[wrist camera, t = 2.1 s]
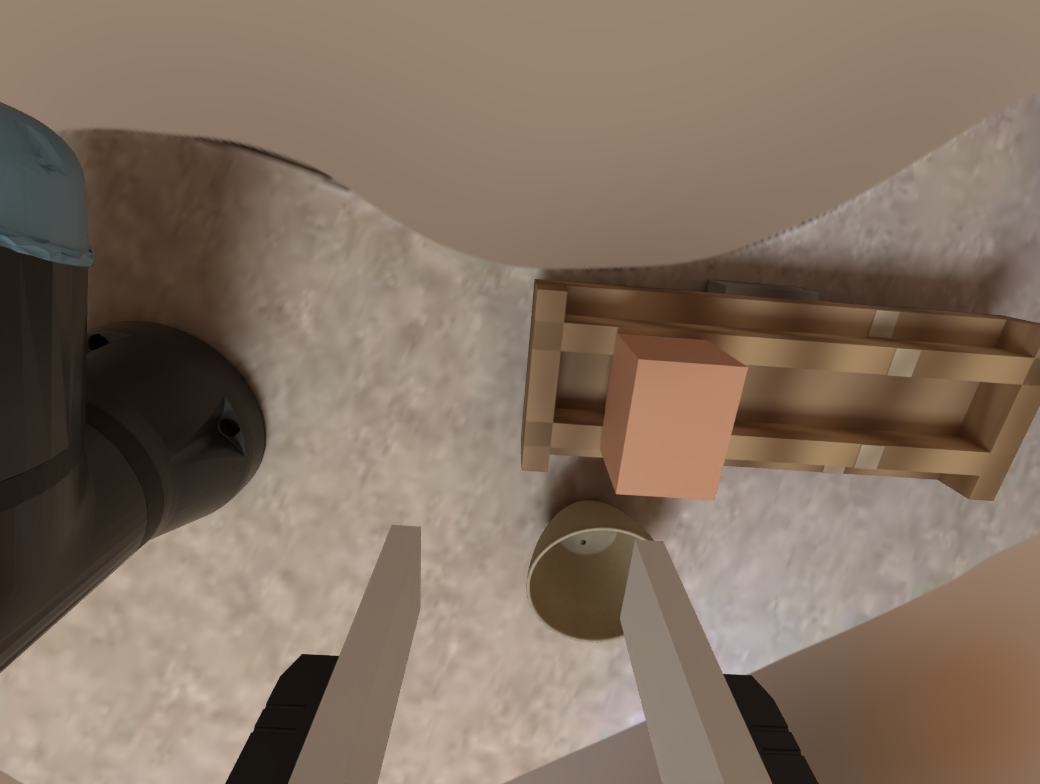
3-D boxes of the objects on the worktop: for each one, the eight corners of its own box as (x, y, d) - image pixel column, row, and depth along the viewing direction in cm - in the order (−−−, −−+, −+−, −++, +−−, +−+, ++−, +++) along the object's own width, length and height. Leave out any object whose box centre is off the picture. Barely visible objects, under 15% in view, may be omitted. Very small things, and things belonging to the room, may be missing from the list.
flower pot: (563, 452, 37) (573, 504, 31) (669, 504, 39) (701, 564, 32) (503, 546, 40) (501, 612, 34) (604, 590, 42) (621, 662, 35)
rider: (593, 431, 31) (616, 494, 24) (608, 323, 28) (638, 359, 21) (670, 436, 31) (714, 500, 24) (691, 330, 29) (748, 367, 22)
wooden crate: (520, 427, 36) (520, 478, 29) (533, 265, 32) (538, 279, 25) (902, 453, 38) (991, 508, 30) (962, 299, 33) (1082, 322, 26)
